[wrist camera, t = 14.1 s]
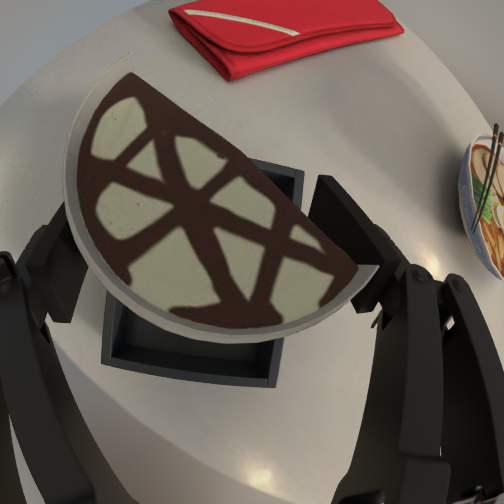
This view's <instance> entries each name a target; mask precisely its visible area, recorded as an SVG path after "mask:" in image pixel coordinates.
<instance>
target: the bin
mask: <svg viewBox="0 0 504 504" xmlns="http://www.w3.org/2000/svg"><path fill="white" fill-rule="evenodd" d="M249 159H250V160H251V161H252V162H253V163H254V164H255V165H256V166H257V167H258V168H259V169H260V170H261V171H262V172H263V173H264V174H265V175H266V176H267V177H268V178H269V179H270V180H271V181H272V182H273V183H274V184H275V185H276V186H277V187H278V188H279V189H280V190H281V191H282V192H283V193H284V194H285V195H286V196H287V197H288V198H289V199H290V200H291V201H292V202H293V203H294V204H295V205H296V206H297V207H298V208H299V209H300V210H301V204H302V194H303V184H304V173H305V172H304V171H302V170H298V169H294V168H290V167H286V166H282V165H278V164H274V163H269V162H265V161H260V160H256V159H251V158H249ZM283 343H284V337H282V338H277V339H272V340H268V341H263V342H257V343H230V344H226V343H217V342H209V341H202V340H195V339H191V338H188V337H184V336H181V335H178V334H175V333H172V332H169V331H166V330H164V329H162V328H160V327H158V326H156V325H154V324H152V323H151V322H149V321H147V320H145V319H143V318H141V317H140V316H138V315H137V314H136V313H134V312H133V311H132V310H131V309H129V308H128V307H127V306H126V305H124V304H123V303H122V302H121V301H119V300H118V299H117V298H116V297H115V296H113V295H112V294H111V293H110V292H109V291H108V290H107V295H106V304H105V313H104V323H103V335H102V351H101V364H104V365H108V366H112V367H116V368H120V369H125V370H129V371H134V372H139V373H144V374H150V375H155V376H161V377H167V378H173V379H180V380H187V381H194V382H202V383H211V384H221V385H232V386H245V387H262V388H266V387H267V388H276V384H277V379H278V373H279V367H280V361H281V355H282V349H283Z"/></svg>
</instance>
